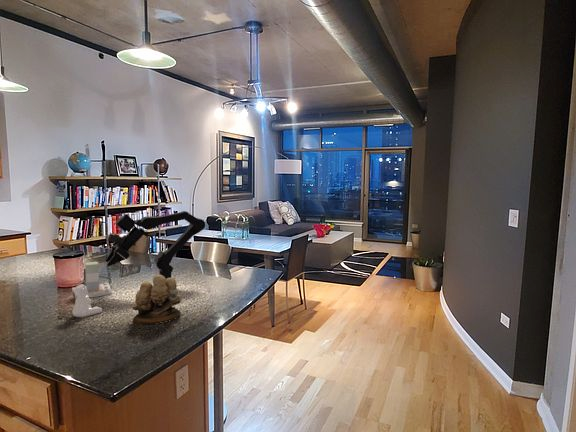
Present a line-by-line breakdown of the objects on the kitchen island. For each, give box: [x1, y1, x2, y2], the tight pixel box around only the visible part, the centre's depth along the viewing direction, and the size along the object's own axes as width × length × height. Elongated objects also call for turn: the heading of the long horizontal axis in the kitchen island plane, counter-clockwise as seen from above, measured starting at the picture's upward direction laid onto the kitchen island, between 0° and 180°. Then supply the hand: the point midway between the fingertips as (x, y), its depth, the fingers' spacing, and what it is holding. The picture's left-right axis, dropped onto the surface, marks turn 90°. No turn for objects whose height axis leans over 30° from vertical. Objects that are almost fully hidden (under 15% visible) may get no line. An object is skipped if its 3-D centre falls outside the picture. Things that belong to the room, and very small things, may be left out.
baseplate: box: [74, 282, 112, 300], centre depth 161 cm, size 14×14×2 cm
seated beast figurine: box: [71, 283, 103, 318], centre depth 134 cm, size 10×9×12 cm
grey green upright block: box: [85, 261, 100, 291], centre depth 160 cm, size 5×5×12 cm
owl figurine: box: [131, 273, 183, 325], centre depth 133 cm, size 18×12×17 cm, turn 120°
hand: (106, 263), depth 163 cm, fingers open, 9 cm apart
